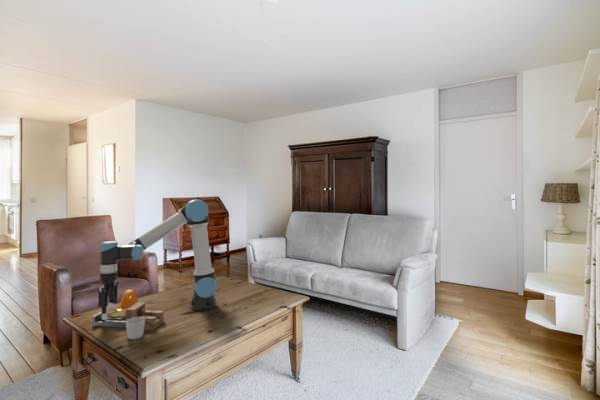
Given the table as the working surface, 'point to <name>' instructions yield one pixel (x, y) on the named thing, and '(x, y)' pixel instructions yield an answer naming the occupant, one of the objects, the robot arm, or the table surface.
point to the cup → (135, 327)
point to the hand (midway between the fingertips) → (107, 317)
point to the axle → (117, 313)
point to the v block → (108, 321)
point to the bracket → (128, 299)
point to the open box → (145, 315)
